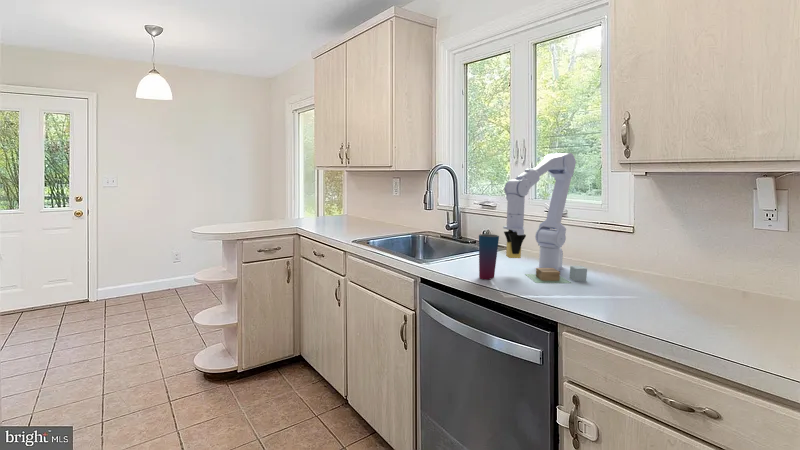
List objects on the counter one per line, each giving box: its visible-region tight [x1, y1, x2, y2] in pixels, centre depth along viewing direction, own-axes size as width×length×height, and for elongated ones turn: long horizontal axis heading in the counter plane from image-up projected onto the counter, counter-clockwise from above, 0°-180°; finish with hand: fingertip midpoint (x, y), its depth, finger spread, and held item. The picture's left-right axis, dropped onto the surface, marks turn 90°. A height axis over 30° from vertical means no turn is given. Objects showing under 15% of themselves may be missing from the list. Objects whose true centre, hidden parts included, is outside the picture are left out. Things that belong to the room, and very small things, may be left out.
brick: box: [569, 265, 588, 282], centre depth 144 cm, size 4×4×5 cm
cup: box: [478, 233, 500, 281], centre depth 146 cm, size 7×7×15 cm
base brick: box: [535, 268, 561, 281], centre depth 145 cm, size 6×6×3 cm
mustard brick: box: [505, 241, 522, 259], centre depth 149 cm, size 4×4×5 cm
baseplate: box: [524, 273, 572, 284], centre depth 145 cm, size 12×12×1 cm
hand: (513, 252), depth 149 cm, fingers closed on mustard brick, 4 cm apart
